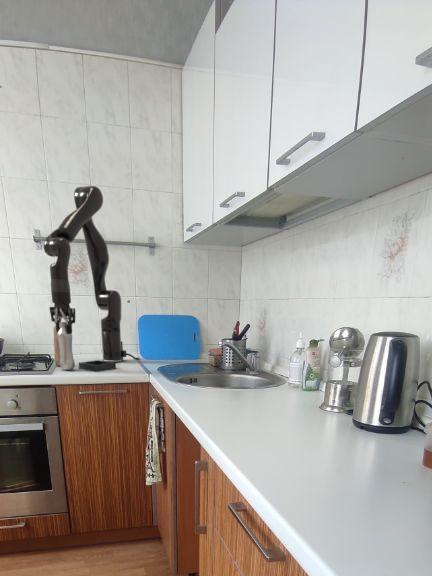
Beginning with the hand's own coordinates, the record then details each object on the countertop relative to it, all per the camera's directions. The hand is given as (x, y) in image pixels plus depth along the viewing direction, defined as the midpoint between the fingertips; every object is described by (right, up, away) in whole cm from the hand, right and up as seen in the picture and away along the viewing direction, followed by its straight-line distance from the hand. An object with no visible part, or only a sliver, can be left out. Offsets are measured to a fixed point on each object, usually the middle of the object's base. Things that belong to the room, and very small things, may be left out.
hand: (64, 333), depth 200 cm
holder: (+11, -12, +12) cm, 21 cm away
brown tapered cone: (-7, -1, +14) cm, 15 cm away
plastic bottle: (0, -15, +6) cm, 16 cm away
